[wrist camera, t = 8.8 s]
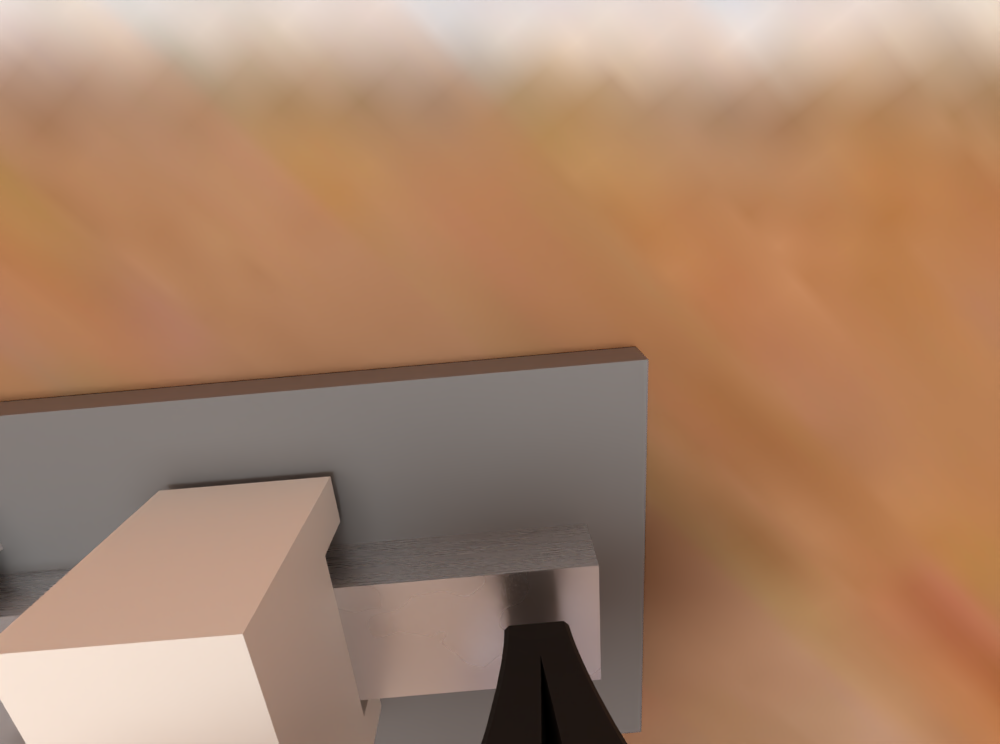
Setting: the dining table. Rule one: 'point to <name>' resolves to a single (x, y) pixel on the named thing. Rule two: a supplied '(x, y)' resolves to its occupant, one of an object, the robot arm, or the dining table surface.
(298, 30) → the dining table surface
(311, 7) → the dining table surface
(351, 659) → the din rail
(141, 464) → the mounting board
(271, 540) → the din module
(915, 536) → the dining table surface
